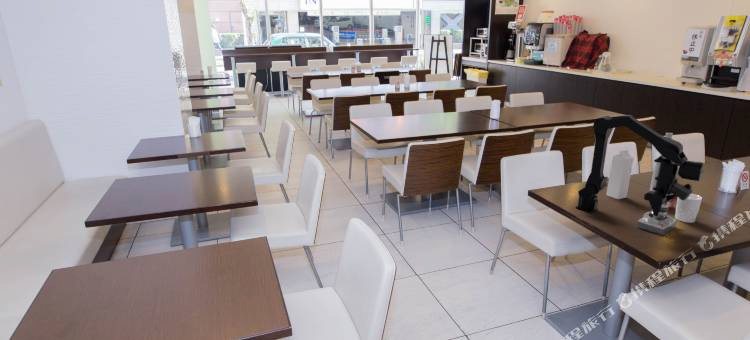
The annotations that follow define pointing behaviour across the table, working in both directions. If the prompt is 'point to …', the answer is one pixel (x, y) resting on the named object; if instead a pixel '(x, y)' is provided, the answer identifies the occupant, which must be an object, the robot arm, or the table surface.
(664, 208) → the lens
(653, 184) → the bottle
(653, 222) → the camera body
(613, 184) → the milk
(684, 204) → the white cup
